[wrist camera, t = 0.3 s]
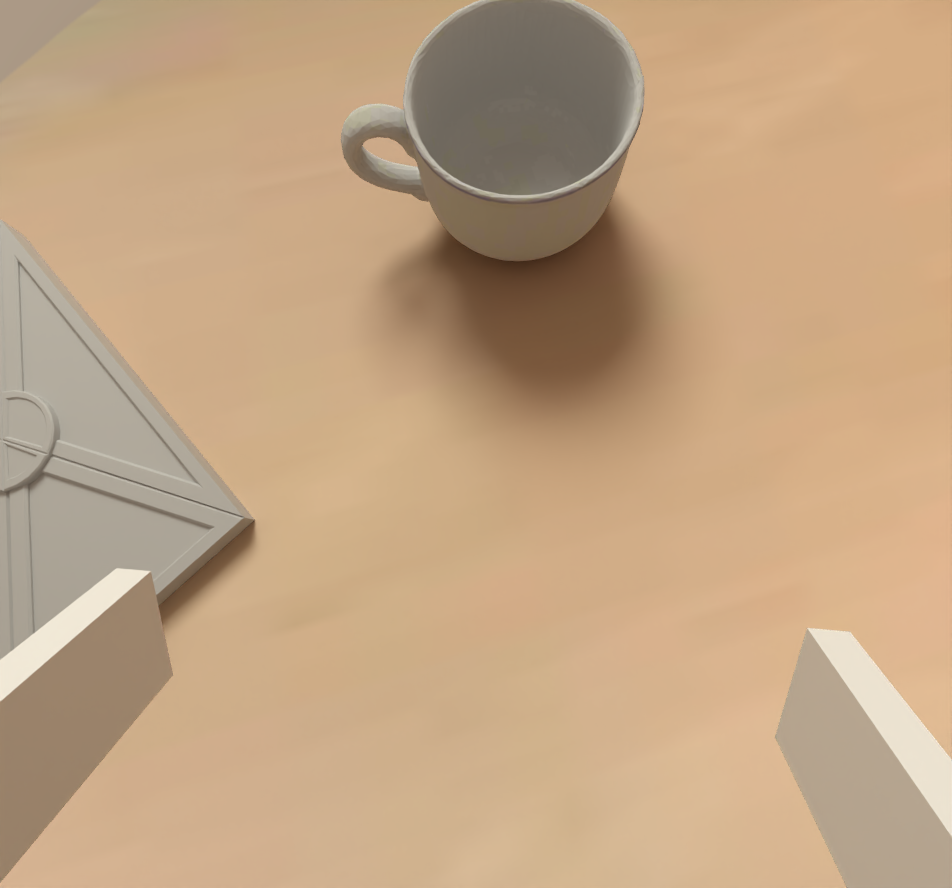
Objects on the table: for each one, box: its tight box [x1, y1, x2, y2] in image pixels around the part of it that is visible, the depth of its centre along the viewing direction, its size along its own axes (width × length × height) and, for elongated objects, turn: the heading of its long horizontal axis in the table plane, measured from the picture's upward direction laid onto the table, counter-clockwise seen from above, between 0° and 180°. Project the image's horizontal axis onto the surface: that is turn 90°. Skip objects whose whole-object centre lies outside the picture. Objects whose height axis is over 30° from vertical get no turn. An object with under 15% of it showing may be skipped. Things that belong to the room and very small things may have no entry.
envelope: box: [0, 220, 255, 660], centre depth 30 cm, size 24×2×14 cm
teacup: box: [341, 0, 644, 261], centre depth 28 cm, size 14×11×8 cm
